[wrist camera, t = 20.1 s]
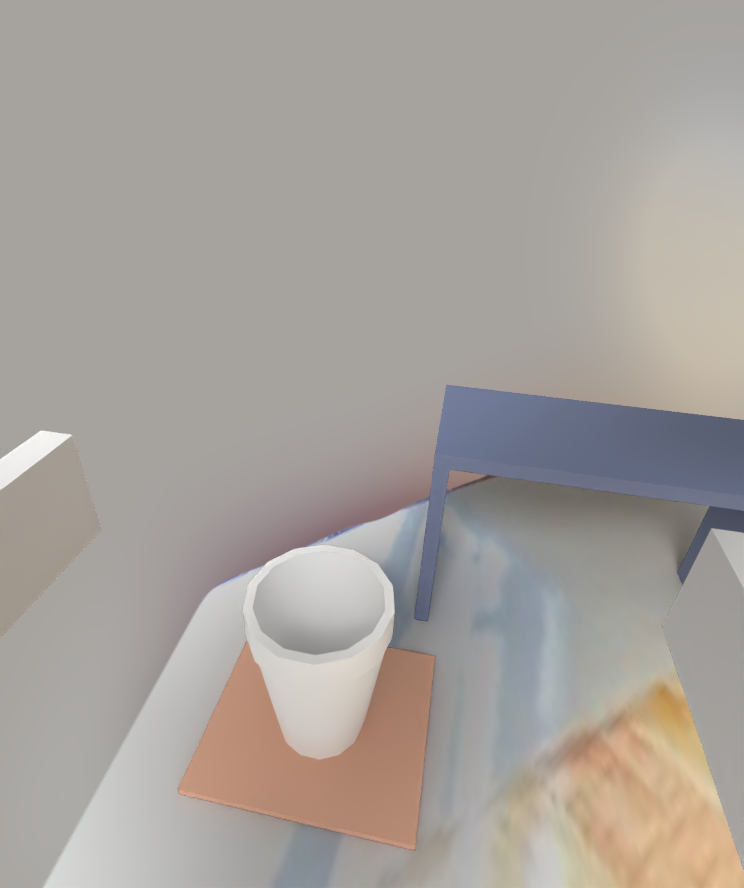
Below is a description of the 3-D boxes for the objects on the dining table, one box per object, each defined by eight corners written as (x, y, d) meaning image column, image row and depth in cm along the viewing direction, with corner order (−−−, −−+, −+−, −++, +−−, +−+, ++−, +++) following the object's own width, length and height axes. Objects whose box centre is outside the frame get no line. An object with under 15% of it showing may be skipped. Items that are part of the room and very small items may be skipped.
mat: (434, 660, 45) (435, 656, 45) (414, 850, 34) (415, 846, 33) (255, 626, 47) (255, 622, 47) (179, 793, 36) (177, 789, 35)
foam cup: (302, 644, 45) (296, 529, 38) (402, 689, 42) (416, 572, 35) (232, 745, 38) (210, 625, 31) (347, 808, 35) (352, 691, 28)
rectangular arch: (689, 574, 55) (766, 422, 45) (733, 676, 45) (844, 509, 35) (427, 532, 59) (446, 384, 49) (414, 618, 49) (435, 454, 39)
